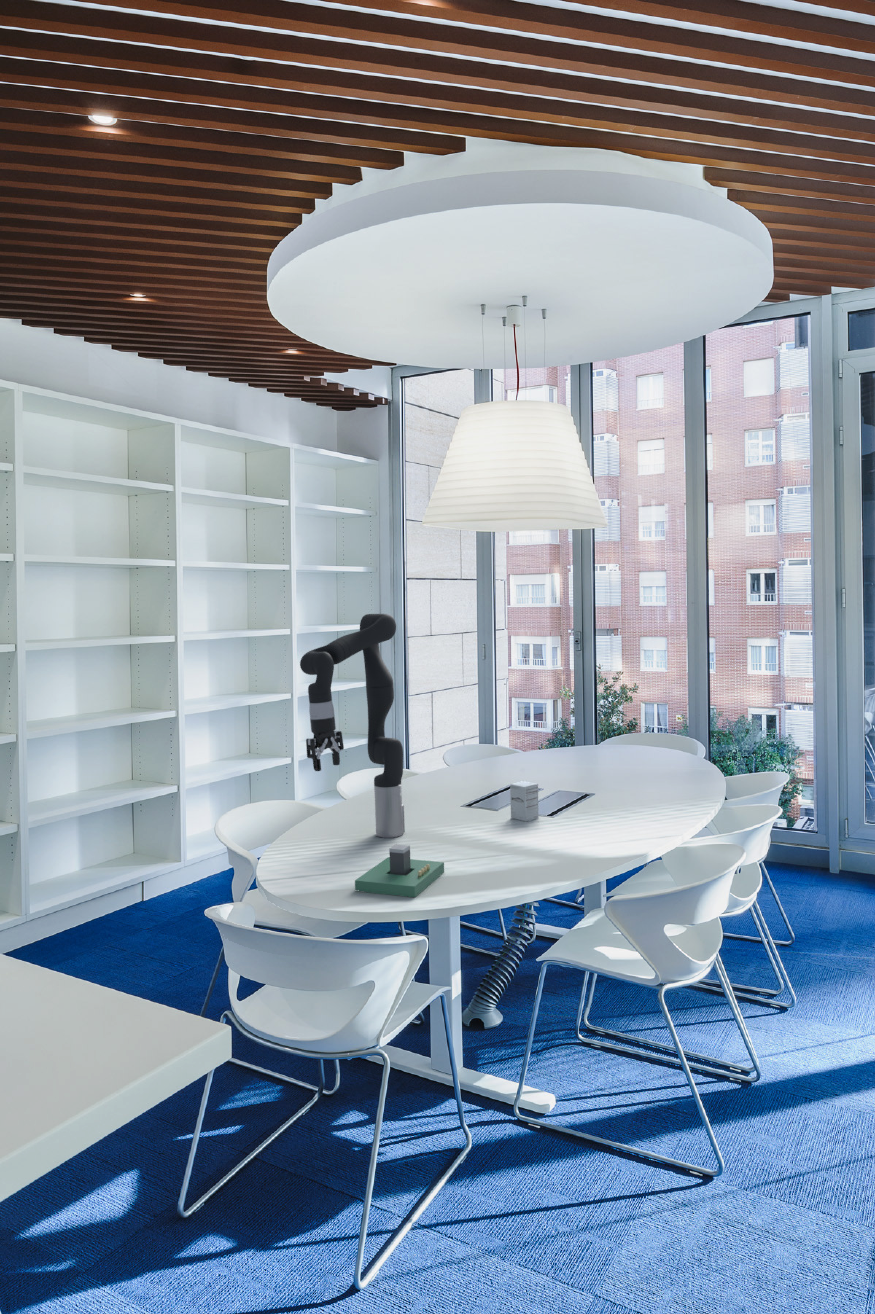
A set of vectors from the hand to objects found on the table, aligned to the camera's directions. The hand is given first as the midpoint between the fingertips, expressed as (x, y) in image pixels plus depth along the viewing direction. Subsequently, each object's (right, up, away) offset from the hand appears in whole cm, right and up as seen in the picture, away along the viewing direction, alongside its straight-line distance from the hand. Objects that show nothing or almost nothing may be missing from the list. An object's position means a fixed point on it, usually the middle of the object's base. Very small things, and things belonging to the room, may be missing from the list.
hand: (327, 767), depth 272 cm
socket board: (+24, -30, -22) cm, 44 cm away
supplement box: (+66, -24, +43) cm, 82 cm away
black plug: (+24, -30, -22) cm, 44 cm away
